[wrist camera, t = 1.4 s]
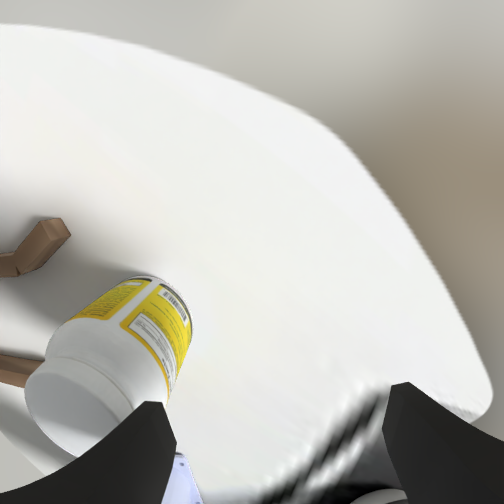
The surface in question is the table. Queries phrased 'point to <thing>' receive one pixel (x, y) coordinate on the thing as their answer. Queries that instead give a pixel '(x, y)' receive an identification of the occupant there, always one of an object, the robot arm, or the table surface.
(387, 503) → the dark grey egg-shaped device
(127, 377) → the pill bottle
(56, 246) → the wooden u-shaped bracket
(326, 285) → the table surface
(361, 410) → the table surface
